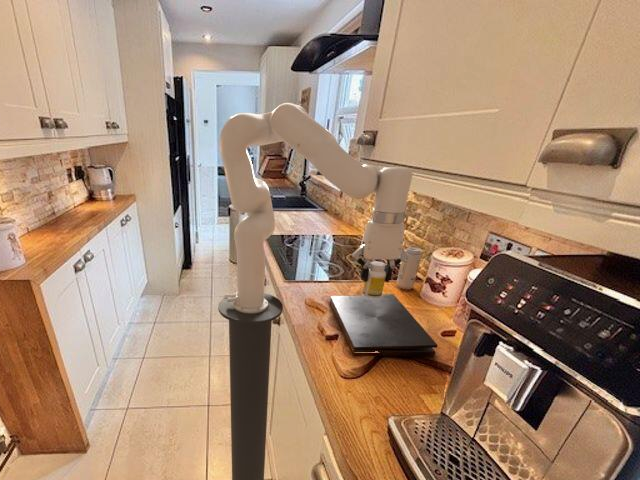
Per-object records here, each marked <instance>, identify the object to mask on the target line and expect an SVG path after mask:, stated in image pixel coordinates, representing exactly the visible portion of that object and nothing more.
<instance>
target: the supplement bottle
mask: <svg viewBox="0 0 640 480" xmlns="http://www.w3.org/2000/svg"><path fill="white" fill-rule="evenodd" d="M385 266H386V263H385V262H382V261H377V260H374V261H373V260H372V261H371V262H370V264H369V268H368V269H369V274H368V279H367V281H366V282H364V281H363V286H362V295H365V296H367V297H370V298H379V297H381V296H382V295H383V291H384V287H385V283H386V281H385V278H386V272H385V271H384V269H385Z"/></svg>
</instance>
